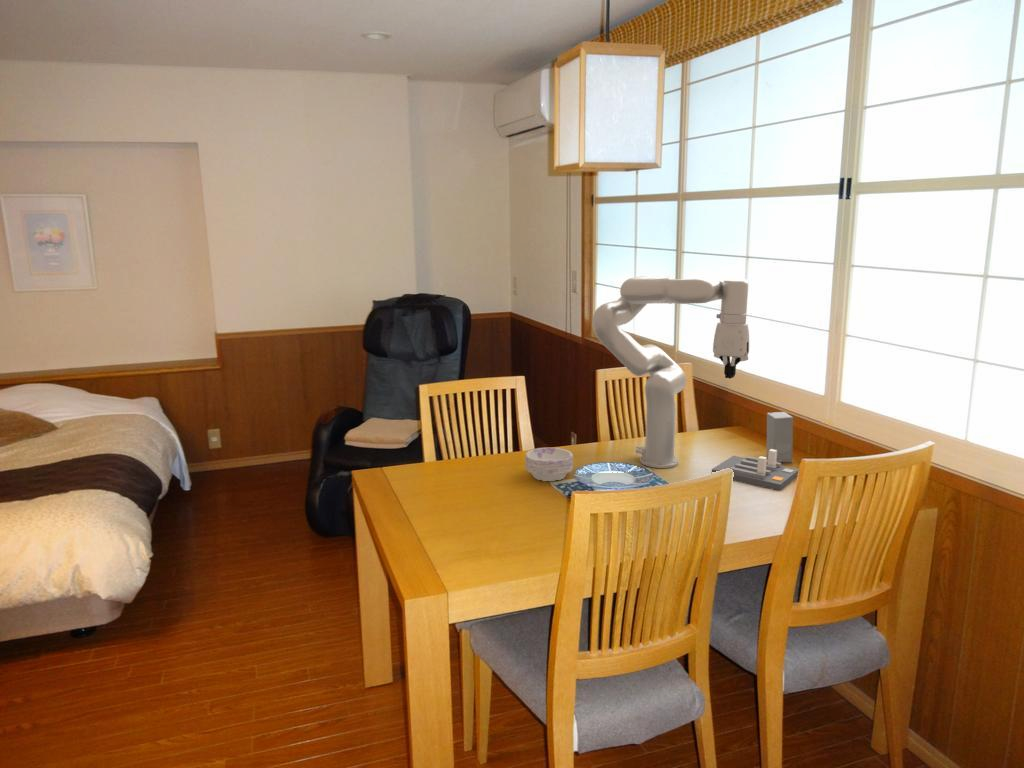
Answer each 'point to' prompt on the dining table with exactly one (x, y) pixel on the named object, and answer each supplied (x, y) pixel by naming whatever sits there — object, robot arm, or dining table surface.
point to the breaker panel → (748, 473)
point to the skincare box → (780, 435)
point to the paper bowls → (549, 463)
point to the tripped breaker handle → (762, 465)
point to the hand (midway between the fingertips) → (729, 377)
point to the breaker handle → (772, 457)
